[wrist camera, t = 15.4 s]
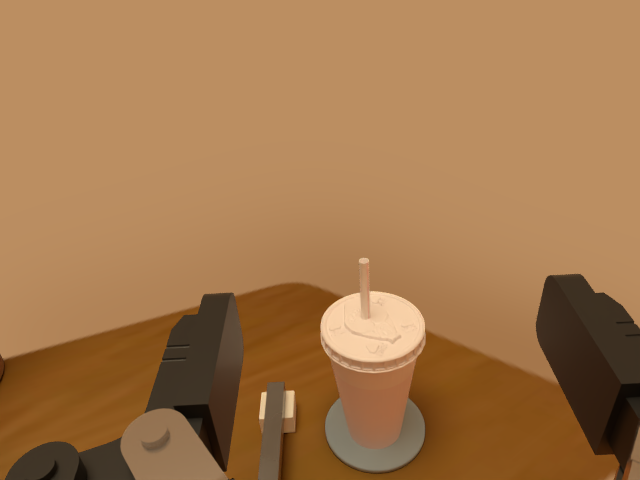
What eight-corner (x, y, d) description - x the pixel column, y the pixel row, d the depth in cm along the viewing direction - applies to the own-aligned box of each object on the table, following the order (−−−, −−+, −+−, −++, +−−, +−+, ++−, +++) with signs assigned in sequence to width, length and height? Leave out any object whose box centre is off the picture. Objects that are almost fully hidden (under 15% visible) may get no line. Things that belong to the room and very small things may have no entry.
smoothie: (373, 377, 41) (370, 222, 33) (440, 427, 37) (453, 263, 29) (310, 425, 37) (290, 266, 30) (376, 486, 33) (372, 318, 26)
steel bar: (276, 547, 29) (274, 535, 29) (255, 548, 29) (252, 536, 29) (286, 393, 39) (284, 381, 38) (269, 394, 39) (267, 382, 38)
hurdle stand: (290, 565, 30) (287, 550, 29) (248, 567, 30) (244, 552, 29) (296, 405, 40) (294, 390, 39) (264, 406, 40) (261, 392, 39)
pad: (343, 486, 34) (343, 483, 34) (313, 404, 40) (313, 401, 39) (442, 455, 35) (443, 451, 35) (400, 380, 41) (400, 376, 41)
